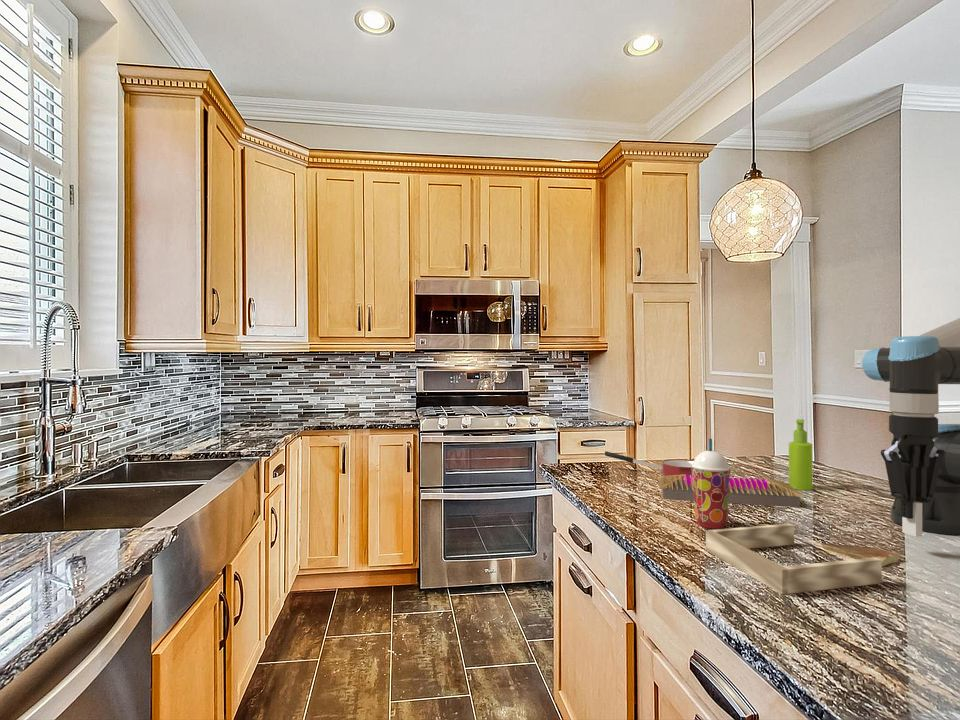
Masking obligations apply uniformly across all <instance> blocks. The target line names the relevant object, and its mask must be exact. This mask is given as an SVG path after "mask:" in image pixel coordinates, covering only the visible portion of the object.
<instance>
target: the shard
mask: <svg viewBox="0 0 960 720" xmlns="http://www.w3.org/2000/svg"><path fill="white" fill-rule="evenodd" d="M820 545H821V546H822V548H823V550H826V551H829V552H832V553H836V554H840V555H842V556H843V555H844V556H846V557H851V558H853V559H864V558H873V557H875V558H878V559H880V560H882V567H884V566H887V565H889V564H893V563H898V561H899V559H900V557H901V556H900V554H899V553H897V552H896V553H895V552H894V551H893V552H892V551H888V550H884V549H883V548H882V549H881V548H878V547H871V546H861V545H852V544H851V545H849V544H831V543H822V542H821V543H820Z"/></svg>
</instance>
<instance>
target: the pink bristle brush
mask: <svg viewBox="0 0 960 720" xmlns="http://www.w3.org/2000/svg"><path fill="white" fill-rule="evenodd" d="M672 476H674V479H673V478H672ZM672 476H669V478H668V476H663V475H662V476H657V482H658V486H659V490H661V491H660V492H661V496H662V500H675V501H691V502H692V501H693V502H694V494H693V480H692V476H691V475H690V476H689V475H686V474H684V475H681V476H680V475H672ZM676 476H678V477H679V478H677V477H676ZM683 476H684V477H683ZM681 477H683V479H681ZM800 497H801V498H805V496H804V495H803V494H802V493H800V491H798V490H797V489H795V488H793V487H792V486H791V485H790V484H789V482H784V481H780V480H776V479H775V480H774V479H770V478H756V477H754V478H750V477H747V478H745V477H739V476H737V477H734V476H732V477H730V480H729V497H728V504H737V505H738V504H742V505H755V506H770V507H772V506H773V507H786V508H800Z"/></svg>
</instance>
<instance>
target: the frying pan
mask: <svg viewBox="0 0 960 720" xmlns="http://www.w3.org/2000/svg"><path fill="white" fill-rule="evenodd" d="M604 456H605V457H609V458H613V459H617V460H620V461H625V462H628V463H632V464H633V463H634V464H635V463H636V464H639V465H642V466H643V465H644V466H646V467H651V468H654V469H659V470H661V471H662V473H661V474H662V476H668V478H669V476H672V475H680V476H681V475H684V474H686V475H689V476H690V475H691V476H692V467H691V464H693V462H694V460H695V459H694V460H693V459H684V458H682V459H679V458H676V459H675V458H674V459H665V460H662V462H661V465H659V464H655V463H650V462H647V461H643V460H639V459H636V458H634V457H629V456H626V455H623V454H622V455H621V454H620V453H619V454H618V453H614V452H611V451H606V450H605V451H604ZM676 477H677V478H679V477H678V476H676ZM683 477H684V476H683ZM683 477H681V479H683ZM672 478H673V479H674V476H672Z"/></svg>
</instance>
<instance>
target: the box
mask: <svg viewBox="0 0 960 720" xmlns="http://www.w3.org/2000/svg"><path fill="white" fill-rule="evenodd" d="M794 545H795V524H792V523H789V522H788V523H780V524H768V525H755V526H742V527H732V528H731V527H730V528H720V529H707V530H705V551H707V552H709V553H710V554H712V555H713V556H715V557H717V558H718V559H720V560H722V561H724V562H726V563H728V564H729V565H731V566H732V567H734V568H736V569H738V570H739V571H741V572H743V573H744V574H747V575H748V576H750V577H752V578H753V579H755V580H757V581H759V583H762V584H764V585H765V586H767V587H769V588H770V589H772V590H774V591H776V592H778V593H779V594H781V595H789V594H790V595H791V594H798V593H807V592H817V591H825V590H834V589H843V588H851V587H861V586H869V585H870V586H871V585H876V584H877V585H878V584H882V583H883V579H882V578H883V577H882V576H883V574H882V573H883V572H882V569H883V568H882V567H883V566H882V560H880V559H878V558H875V557H873V558H864V559H856V558H853V559H847V560H845V559H844V560H835V561H827V562H826V561H825V562H817V563H816V562H815V563H806V564H805V563H804V564H796V565H795V564H794V565H787V566H786V565H785V566H783V565H781V564H778V563H777V562H774V561H773V560H771V559H769V558H767V557H765V556H763V555H761V554H759V553H757V552H755V551H753V550H751V549H760V548H762V549H763V548H768V547H769V548H771V547H780V546H794Z"/></svg>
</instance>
